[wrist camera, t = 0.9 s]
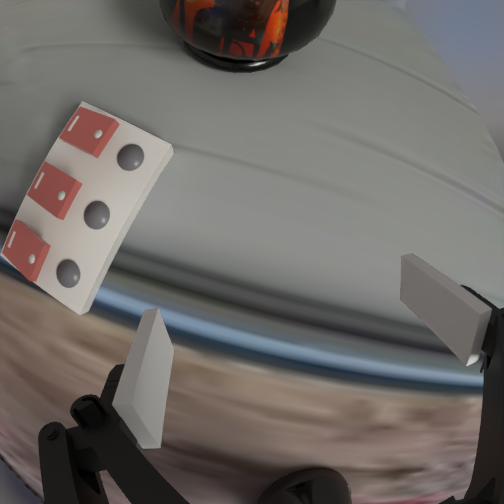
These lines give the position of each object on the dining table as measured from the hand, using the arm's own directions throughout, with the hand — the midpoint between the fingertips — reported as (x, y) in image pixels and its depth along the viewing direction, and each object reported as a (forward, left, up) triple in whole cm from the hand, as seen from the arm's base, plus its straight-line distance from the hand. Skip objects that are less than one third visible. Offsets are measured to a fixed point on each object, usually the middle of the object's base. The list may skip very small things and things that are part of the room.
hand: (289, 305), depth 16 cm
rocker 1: (-9, +23, -18) cm, 31 cm away
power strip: (-2, +22, -22) cm, 31 cm away
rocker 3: (+6, +23, -18) cm, 30 cm away
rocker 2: (-2, +23, -18) cm, 29 cm away
